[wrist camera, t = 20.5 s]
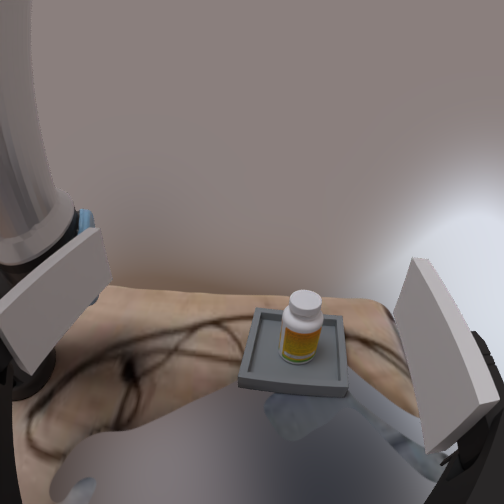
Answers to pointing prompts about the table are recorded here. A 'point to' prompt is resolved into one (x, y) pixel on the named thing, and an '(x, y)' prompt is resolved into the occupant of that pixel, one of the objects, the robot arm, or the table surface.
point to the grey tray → (287, 374)
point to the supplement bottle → (301, 327)
